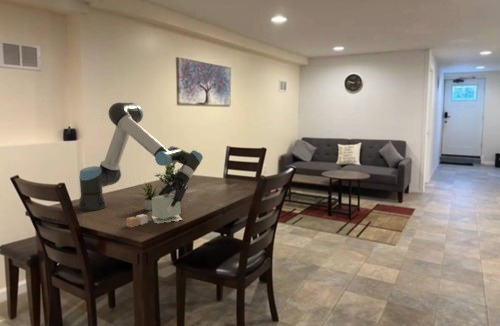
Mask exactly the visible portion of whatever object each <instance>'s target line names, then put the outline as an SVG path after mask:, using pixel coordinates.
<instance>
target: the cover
mask: <svg viewBox="0 0 500 326" xmlns="http://www.w3.org/2000/svg"><path fill="white" fill-rule="evenodd" d="M174 196H175V195H174V194H164V195H161V196H159V195H156V196H155V197H154V196H153V197H152V210H151V211H152V214H151V217H152V216H153V217H157V218H160V219H166V218H169V217H172V216H176V215H179V216H180V215H181V214H182V211H181V202H182V201H181V202H179V201H178V202H177V203H176V204H175V206H174V207H173V208H172V209H171V211H170V213H169V212H167V211H166V208H167V207H168V205H169V203H170V202H171V200H172V199H173V198H174ZM173 200H174V199H173Z"/></svg>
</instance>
